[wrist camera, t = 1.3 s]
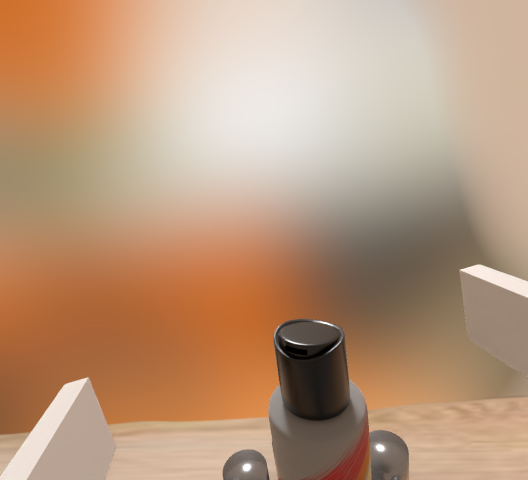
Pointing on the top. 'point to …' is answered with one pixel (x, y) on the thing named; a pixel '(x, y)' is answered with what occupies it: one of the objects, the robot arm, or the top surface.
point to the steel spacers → (381, 452)
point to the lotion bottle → (317, 406)
